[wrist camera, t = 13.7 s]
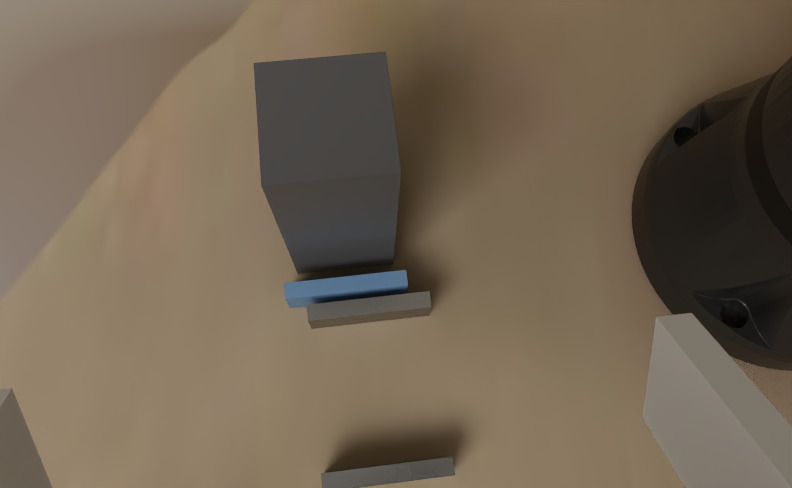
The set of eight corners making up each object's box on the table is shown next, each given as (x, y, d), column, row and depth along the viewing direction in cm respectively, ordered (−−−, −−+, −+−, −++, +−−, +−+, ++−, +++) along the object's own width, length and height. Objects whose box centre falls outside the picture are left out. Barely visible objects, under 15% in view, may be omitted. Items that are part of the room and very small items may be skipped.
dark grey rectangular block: (382, 176, 38) (385, 51, 26) (393, 263, 36) (401, 172, 25) (291, 184, 37) (253, 62, 26) (297, 273, 36) (261, 185, 24)
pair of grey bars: (426, 300, 36) (429, 291, 34) (450, 474, 33) (455, 474, 31) (310, 313, 35) (306, 304, 33) (325, 490, 33) (322, 492, 31)
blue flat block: (386, 144, 38) (387, 127, 36) (406, 294, 36) (408, 285, 34) (278, 155, 38) (273, 138, 36) (290, 307, 35) (285, 299, 33)
